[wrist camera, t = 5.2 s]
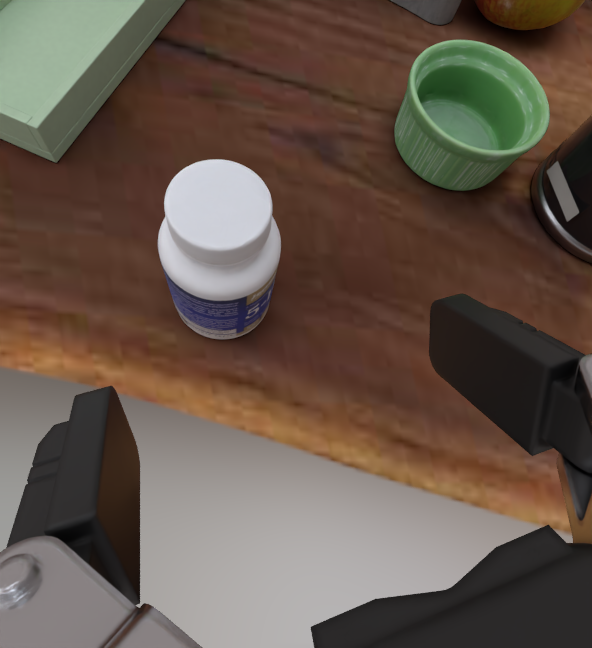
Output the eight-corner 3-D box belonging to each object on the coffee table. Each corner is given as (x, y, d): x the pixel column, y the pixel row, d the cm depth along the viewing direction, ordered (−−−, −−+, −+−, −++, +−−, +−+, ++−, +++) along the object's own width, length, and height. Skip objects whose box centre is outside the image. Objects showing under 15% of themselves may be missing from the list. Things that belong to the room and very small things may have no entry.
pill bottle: (260, 349, 23) (276, 281, 15) (164, 331, 23) (125, 251, 15) (277, 263, 25) (299, 161, 17) (188, 245, 25) (165, 131, 16)
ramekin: (475, 224, 28) (516, 181, 24) (361, 149, 29) (382, 96, 25) (527, 141, 31) (571, 90, 27) (423, 75, 32) (451, 17, 28)
